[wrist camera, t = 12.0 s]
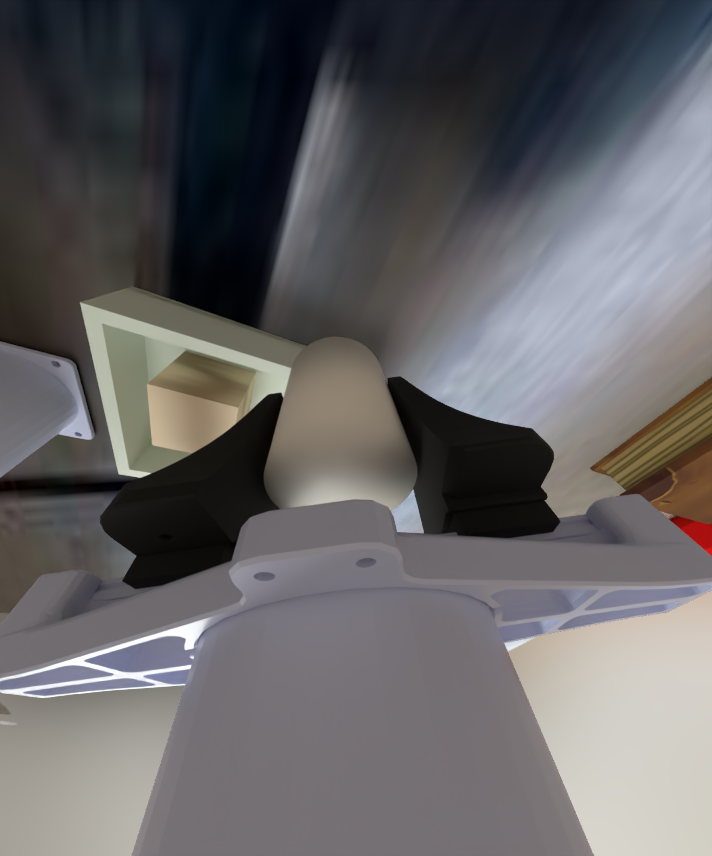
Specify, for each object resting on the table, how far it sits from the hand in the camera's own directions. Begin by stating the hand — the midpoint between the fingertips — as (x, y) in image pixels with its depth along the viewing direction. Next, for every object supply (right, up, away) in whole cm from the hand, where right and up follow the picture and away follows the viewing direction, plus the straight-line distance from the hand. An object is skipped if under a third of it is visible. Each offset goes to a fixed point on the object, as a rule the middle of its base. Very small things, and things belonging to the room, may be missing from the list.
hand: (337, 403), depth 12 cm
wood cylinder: (0, +1, +1) cm, 2 cm away
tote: (-8, +1, +10) cm, 13 cm away
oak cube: (-10, +2, +8) cm, 13 cm away
